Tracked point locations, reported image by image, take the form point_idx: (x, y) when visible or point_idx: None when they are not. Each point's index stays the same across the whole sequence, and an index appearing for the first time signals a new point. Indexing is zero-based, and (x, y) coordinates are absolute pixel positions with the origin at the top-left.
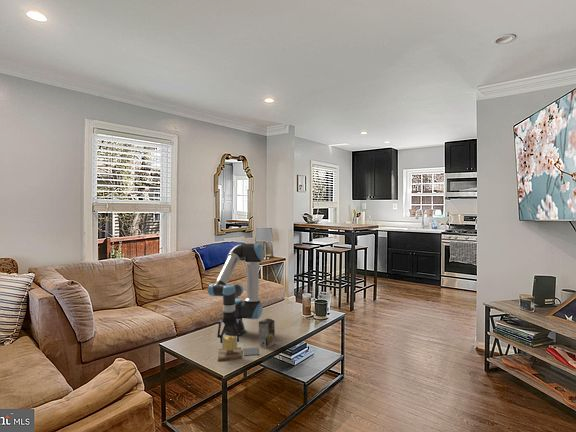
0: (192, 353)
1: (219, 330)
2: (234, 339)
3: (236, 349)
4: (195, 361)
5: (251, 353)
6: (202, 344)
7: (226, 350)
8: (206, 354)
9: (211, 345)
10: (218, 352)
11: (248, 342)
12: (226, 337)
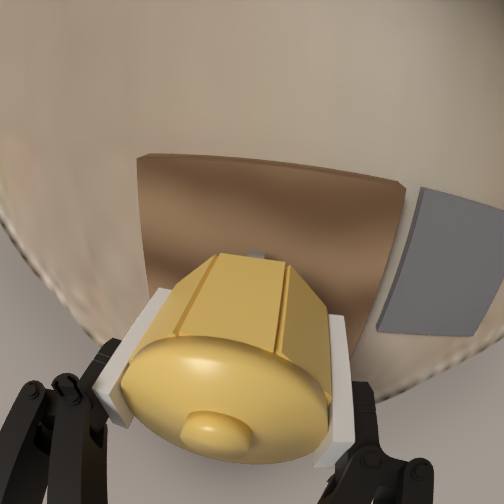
0: (3, 163)
1: (36, 494)
2: (287, 460)
3: (340, 234)
4: (46, 282)
5: (439, 320)
6: (40, 4)
7: (220, 223)
8: (67, 198)
9: (91, 10)
10: (143, 246)
11: (487, 36)
12: (159, 392)
